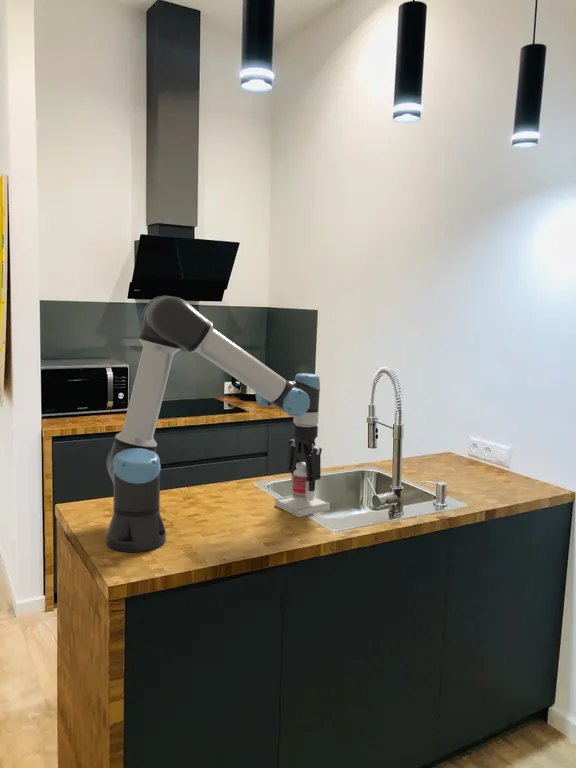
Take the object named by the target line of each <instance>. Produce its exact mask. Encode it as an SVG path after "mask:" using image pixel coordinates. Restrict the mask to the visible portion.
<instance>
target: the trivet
mask: <svg viewBox="0 0 576 768" xmlns="http://www.w3.org/2000/svg"><path fill="white" fill-rule="evenodd" d="M274 500H275V502H274V503H275V507H276V508H277V507H278V508H279V509H282V510H284V511H285V512H287V513H289V514H290V515H291V514H292V515H293V516H295V517H297V518H301V517H306V516H309V514H310V515H315V514H318V513H324V512H327V511H330V506H331V504H330V502H327V501H324V500H321V499H320V498H317V497H315V496H314V500H313V501H308V502H306V501H299V500H295V499H293V497H292V494H291V495H286V496H281V497H277V498H275V499H274Z"/></svg>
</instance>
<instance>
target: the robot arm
mask: <svg viewBox="0 0 576 768" xmlns="http://www.w3.org/2000/svg"><path fill="white" fill-rule="evenodd" d="M141 322H142V326H141V330H140V334H139V337H138V338H139V339H138V341H139V342H140V344H141V345H142V350H141V353H140V358H139V363H138V367H137V370H136V374H135V377H134V382H133V386H132V389H131V390H132V391H131V395H130V399H129V403H128V406H127V411H126V414H125V419H124V423H123V426H122V427H123V428H122V430H121V431H120V432H118V433H116V435H115V436H114V440H113V444H112V448H111V449H110V450H109V453H108V455H107V458H106V465H105V466H106V470H107V473H108V476H109V477H110V479H111V482H112V484H113V485H112V487H113V512H112V513H113V514H112V516H111V520H110V522H109V526H108V529H107V531H106V545H107V546H108V547H109V548H110V549H112V550H115V551H120V552H127V553H137V552H138V553H139V552H140V553H141V552H146V551H151V550H155V549H157V548H159V547H161V546H163V545H164V544H165V543H166V541H167V530H166V528H165V527H166V526H165V524H164V521H163V518H162V515H161V511H160V505H161V504H160V500H161V499H160V497H161V496H160V493H161V492H160V489H161V470H162V469H161V467H162V466H161V459H160V456H159V455H158V453H156V451H157V447H158V443H157V442H156V440H155V438H154V435H155V433H156V427H157V424H158V419H159V415H160V411H161V407H162V404H163V401H164V396H165V392H166V387H167V383H168V378H169V375H170V372H171V371H170V370H171V367H172V363H173V359H174V356H175V354H177V353H179V352H180V351H181V350H182V348H183V349H185V350H186V351H188V352H189V353H197V354H199V355H200V356H202V357H204V358H205V359H206V360H208V361H210V362H211V364H213V365H215V366H216V367H218V368H220V369H221V370H222V371H224V372H226V374H228V375H230V376H231V377H233V378H234V379H236V380H237V381H239V382H240V383H242V384H243V385H245V386H246V387H248V388H249V389H250V390H251V391H253V392H255V399H256V400H255V401H256V402H257V405H258V406H259V407H267V408H270V407H274V408H276V409H278V410H280V411H282V412H284V413H285V414H287V415H289V416H292V417H293V420H292V422H293V423H294V424H293V426H292V427H293V429H292V436H293V437H294V439H289V440H288V457H287V466H286V467H287V471H288V472H290V474H291V489H292V488H293V472H294V471H295V470H296V469H297V468H296V463H297V462H303V459H304V462H305V463H306V469H307V476H308V479H307V480H306V492H305V501H306V502H308V501H313V500H314V497H315V496H314V495H315V490H316V481H319V480H321V477H322V476H321V472H322V471H321V463H322V462H321V459H322V458H321V455H322V452H323V451H322V447H318V446H317V445H316V441H315V440H316V439H317V438H318V433H319V427H318V424H319V412H320V411H319V407H320V406H319V405H320V392H321V381H320V380H321V379H320V377H319V375H317V374H315V373H296V375H295V377H294V380H286V379H285V378H284V377H282V376H281V375H280V374H278V373H277V372H275V371H274V370H273V369H271V368H270V367H268V366H267V365H266V364H265V363H262V362H261V361H260V360H259V359H257V358H256V357H255V356H253V355H251V354H250V353H249V352H248V351H246V350H244V349H243V348H241V346H239V345H238V344H236V343H235V342H233V341H232V340H231V339H229V338H227V336H225V335H223V334H222V333H221V332H219V331H218V330H216V329H215V328H214V325H213V322H212V321H211V320H209V319H208V318H206V316H204V315H203V314H201V313H200V312H199V311H198V310H196V309H195V308H194V307H193V306H192V305H191V304H190V303H188V302H187V301H186V300H185V299H182V298H181V297H178V296H171V295H161V296H160V295H159V296H156V297H154V298H152V299H151V300H150V301H149V302H148V303H147V304H146V305H145V306H144V309H143V310H142V314H141ZM311 476H312V477H311Z"/></svg>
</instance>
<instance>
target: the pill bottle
mask: <svg viewBox="0 0 576 768" xmlns="http://www.w3.org/2000/svg"><path fill="white" fill-rule="evenodd" d="M296 468H297V469H296V470H295V471H294V472H293V488H292V487H291V495H292V497H293V499H295V500H299V501H305V492H306V480H307V479H308V476H307V469H306V463H305V461H302V462H297V463H296ZM311 477H312V476H311Z"/></svg>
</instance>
